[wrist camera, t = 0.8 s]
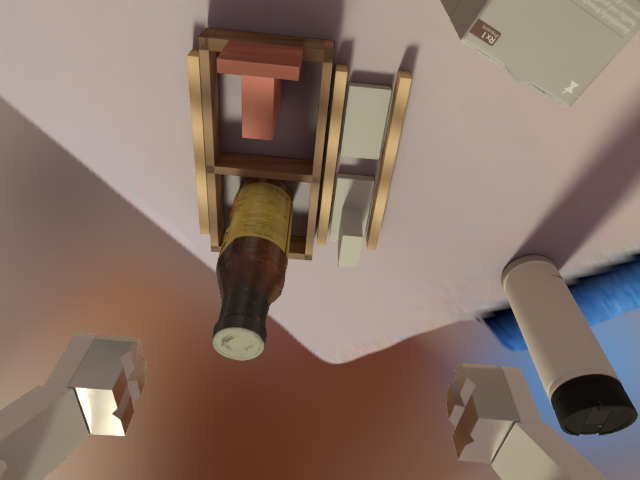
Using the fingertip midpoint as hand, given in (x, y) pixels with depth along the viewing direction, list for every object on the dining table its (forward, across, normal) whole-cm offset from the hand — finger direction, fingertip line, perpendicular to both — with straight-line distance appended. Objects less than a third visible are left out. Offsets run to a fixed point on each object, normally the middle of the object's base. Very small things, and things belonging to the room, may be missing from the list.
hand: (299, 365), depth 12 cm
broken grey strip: (+36, -4, +12) cm, 38 cm away
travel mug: (+36, -27, +24) cm, 51 cm away
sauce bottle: (+36, +5, +17) cm, 40 cm away
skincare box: (+36, -13, -6) cm, 38 cm away
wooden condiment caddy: (+35, +5, +11) cm, 38 cm away
